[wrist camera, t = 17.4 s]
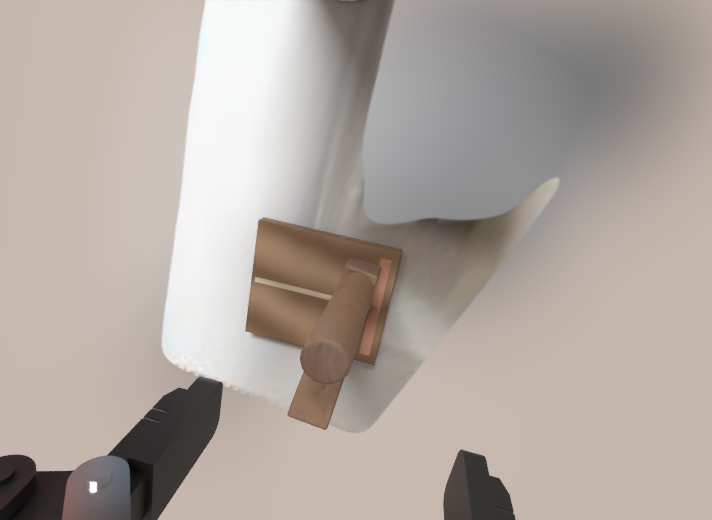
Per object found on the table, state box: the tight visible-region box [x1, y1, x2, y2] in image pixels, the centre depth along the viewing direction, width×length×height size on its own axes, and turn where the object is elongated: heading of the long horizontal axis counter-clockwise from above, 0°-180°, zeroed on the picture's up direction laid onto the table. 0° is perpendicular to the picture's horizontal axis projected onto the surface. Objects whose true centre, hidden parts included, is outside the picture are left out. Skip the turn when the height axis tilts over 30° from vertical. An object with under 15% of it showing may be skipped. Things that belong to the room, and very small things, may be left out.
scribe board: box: [245, 218, 402, 365], centre depth 47 cm, size 14×16×2 cm
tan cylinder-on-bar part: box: [288, 256, 381, 429], centre depth 37 cm, size 4×11×18 cm, turn 163°
